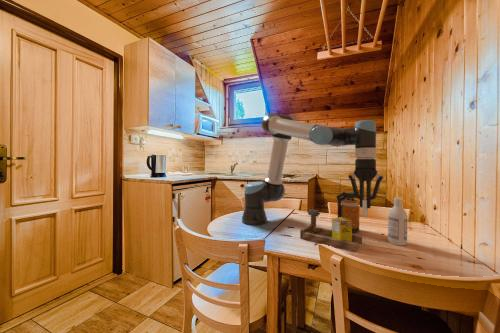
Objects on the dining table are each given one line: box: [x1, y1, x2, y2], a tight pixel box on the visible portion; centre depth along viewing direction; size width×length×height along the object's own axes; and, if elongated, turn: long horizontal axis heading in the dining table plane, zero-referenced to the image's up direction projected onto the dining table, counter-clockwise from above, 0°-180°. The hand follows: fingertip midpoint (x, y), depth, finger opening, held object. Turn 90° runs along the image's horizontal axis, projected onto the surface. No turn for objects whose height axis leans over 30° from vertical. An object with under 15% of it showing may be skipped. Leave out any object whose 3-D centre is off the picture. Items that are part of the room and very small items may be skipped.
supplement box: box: [331, 216, 353, 243], centre depth 95 cm, size 6×6×11 cm
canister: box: [335, 191, 361, 233], centre depth 112 cm, size 9×11×20 cm
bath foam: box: [387, 197, 409, 246], centre depth 95 cm, size 7×7×20 cm
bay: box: [299, 208, 363, 253], centre depth 100 cm, size 26×15×11 cm, turn 50°
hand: (365, 215), depth 89 cm, fingers closed
